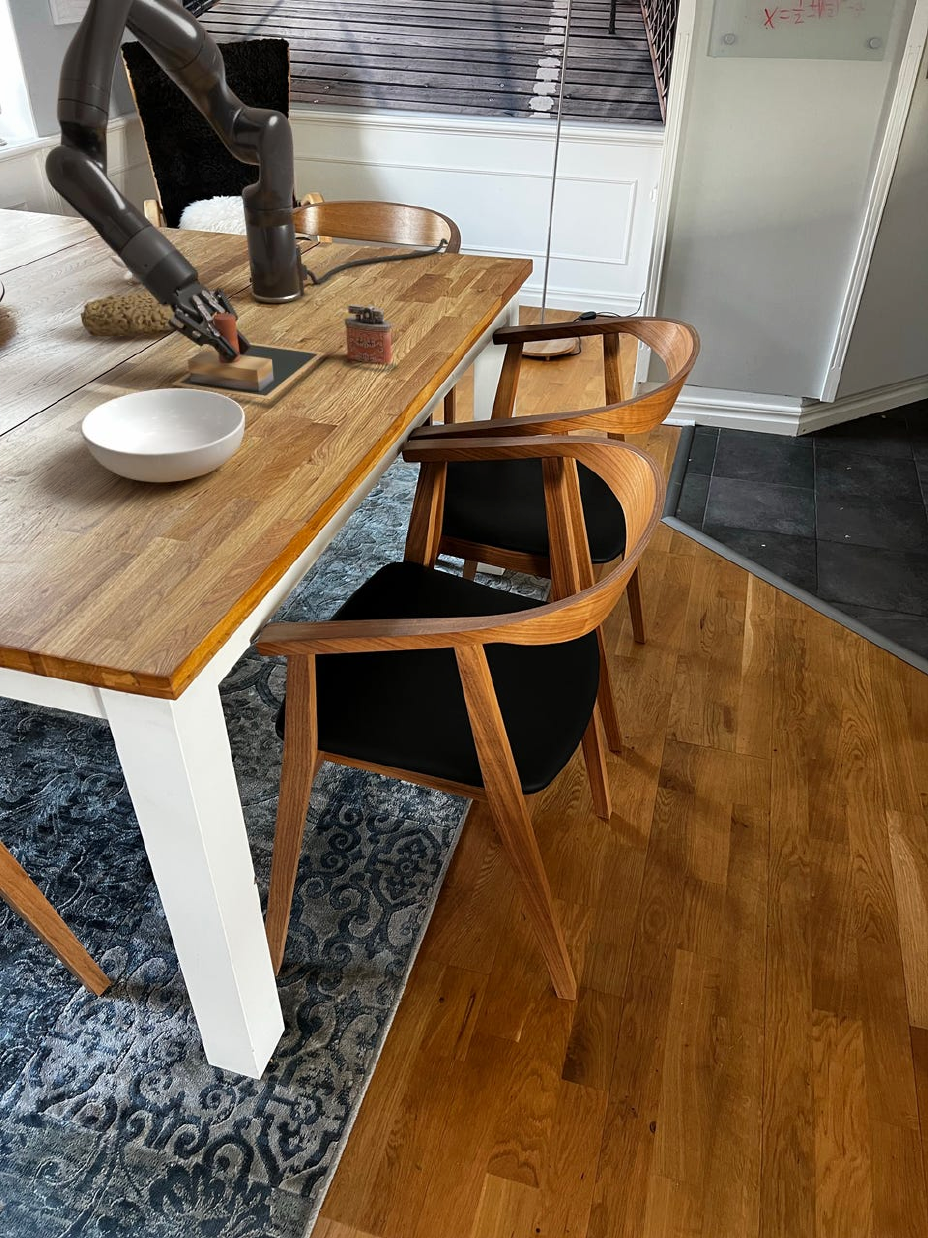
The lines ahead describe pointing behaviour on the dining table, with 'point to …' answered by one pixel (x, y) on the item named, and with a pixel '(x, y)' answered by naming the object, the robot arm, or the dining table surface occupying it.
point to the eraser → (236, 374)
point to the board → (283, 363)
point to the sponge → (126, 316)
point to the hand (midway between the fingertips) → (240, 354)
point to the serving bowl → (164, 433)
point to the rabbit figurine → (120, 263)
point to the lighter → (368, 335)
